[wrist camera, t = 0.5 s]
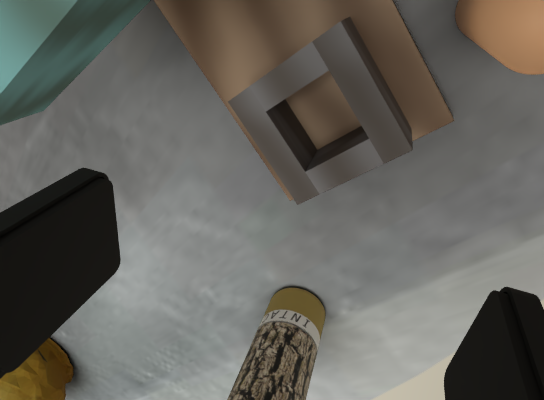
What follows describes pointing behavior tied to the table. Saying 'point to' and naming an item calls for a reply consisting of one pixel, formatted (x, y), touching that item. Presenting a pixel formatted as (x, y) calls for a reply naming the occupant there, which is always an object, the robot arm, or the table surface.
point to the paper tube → (282, 349)
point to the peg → (506, 31)
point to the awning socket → (254, 74)
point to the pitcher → (39, 376)
